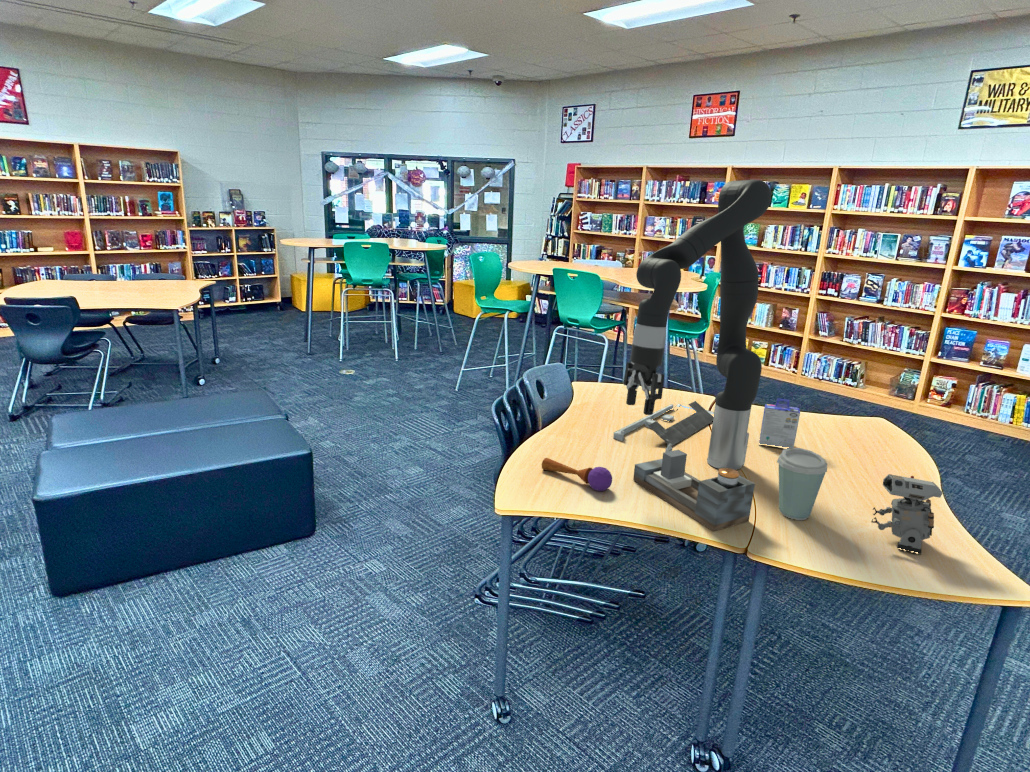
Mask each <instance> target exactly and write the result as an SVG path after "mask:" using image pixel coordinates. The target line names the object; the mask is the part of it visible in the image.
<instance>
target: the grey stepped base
mask: <svg viewBox="0 0 1030 772" xmlns="http://www.w3.org/2000/svg"><path fill="white" fill-rule="evenodd" d="M662 459H663V458H659V459H655V460H649V461H644V462H640V463H635V464H634V471H633V478H632V481H633V482H636V483H637V484H638V485H640V486H642V487H643V488H644V489H646V490H648V491H649V492H650V493H653V494H654V495H656V496H657V497H659V498H661V500H664V501H665V502H667V503H668V504H670V505H671V506H673V507H674V508H675V509H677V510H679V511H681V513H682V512H683V513H684V514H686V515H687V516H689V517H691V518H692V519H693V520H695V521H696V522H699V524H701V525H703V526H704V525H705V527H706V528H707V529H709V528H710V529H709V530H711V531H712V530H713V531H712V532H716V531H715V530H717V531H719V530H724V529H726V527H727V528H730V527H733V525H734V526H737V525H739V524H740V523H741V524H744V523H747V521H748V522H749V521H750V516H751V510H752V503H753V498H754V492H755V486H756V483H755V482H753V481H751V480H749V479H747V478H745V477H743V475H742V476H741V475H740V474H739V479H738V485H737V487H734V488H730V489H727V488H725V487H723V486H721V485H719V484H717V478H718V476H715V477H711V478H708V479H703V480H700V479H698V478H697V477H695V476H693V475H691V474H690V473H687V472H686V471H685V473H684V475H686V476H688V477H689V478H691V479H692V481H691V486H690V487H686V488H681V489H676V488H674V487H673V486H671V485H669V484H668V483H666V482H664V481H663V480H661V479H659V478H658V477H656V476H654V475H653V472H656V471H661V467H662ZM723 528H724V529H723Z"/></svg>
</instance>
